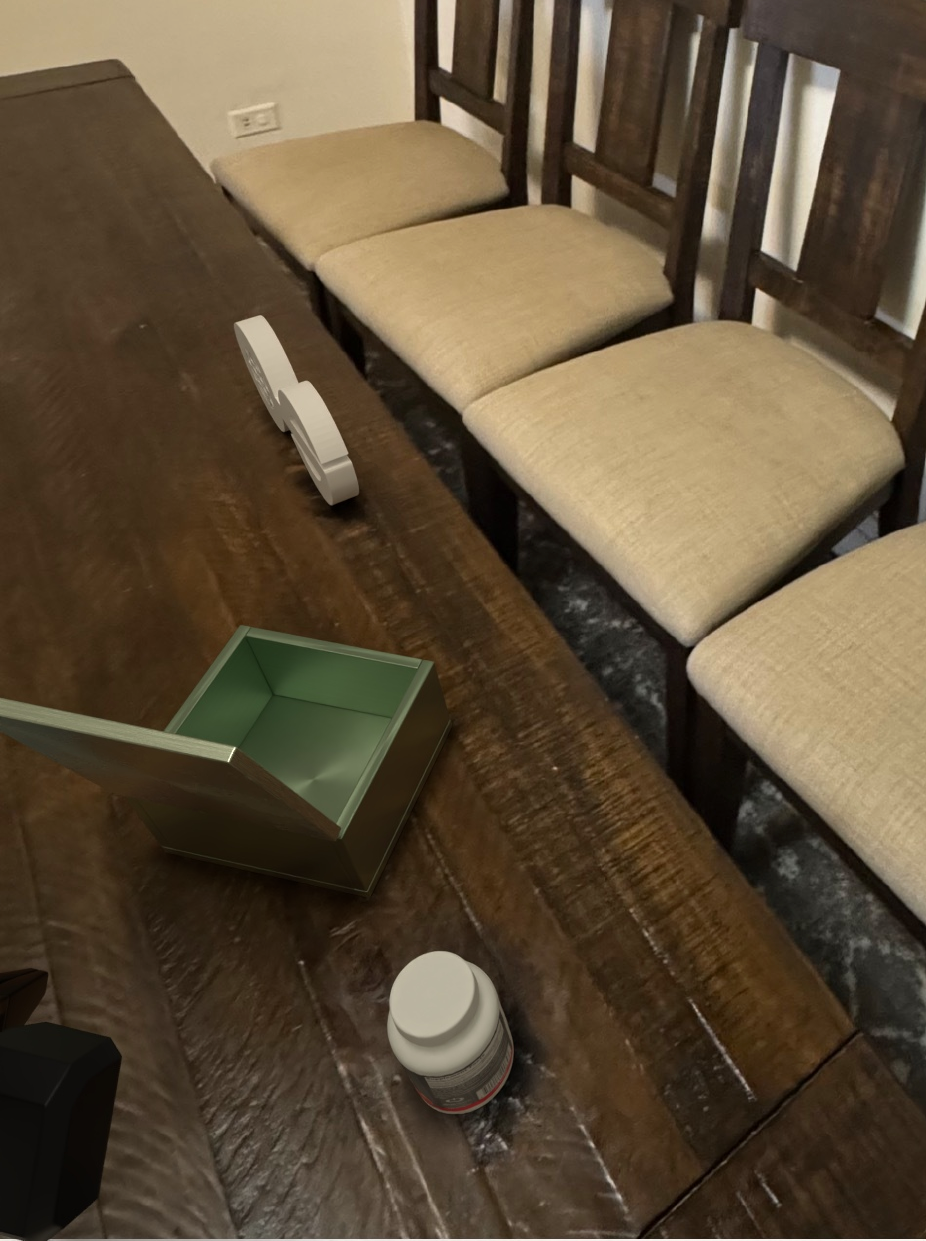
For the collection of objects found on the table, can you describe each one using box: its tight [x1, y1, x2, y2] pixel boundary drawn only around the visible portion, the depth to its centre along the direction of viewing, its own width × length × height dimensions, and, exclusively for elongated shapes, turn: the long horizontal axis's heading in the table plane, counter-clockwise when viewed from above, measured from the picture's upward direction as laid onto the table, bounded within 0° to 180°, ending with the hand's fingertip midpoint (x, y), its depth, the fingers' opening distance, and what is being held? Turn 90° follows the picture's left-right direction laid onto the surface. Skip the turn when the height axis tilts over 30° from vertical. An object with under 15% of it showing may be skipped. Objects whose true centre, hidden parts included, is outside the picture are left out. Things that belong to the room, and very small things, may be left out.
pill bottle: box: [386, 950, 515, 1115], centre depth 51 cm, size 5×5×10 cm
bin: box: [123, 624, 453, 899], centre depth 63 cm, size 13×14×7 cm
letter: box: [233, 314, 360, 506], centre depth 86 cm, size 22×2×10 cm, turn 36°
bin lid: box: [0, 697, 341, 841], centre depth 50 cm, size 13×14×1 cm
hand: (39, 980), depth 44 cm, fingers closed
